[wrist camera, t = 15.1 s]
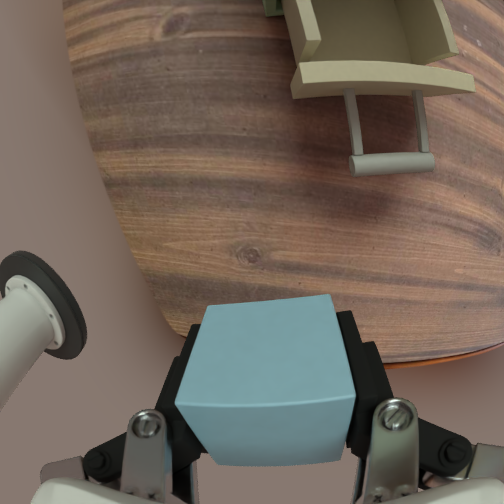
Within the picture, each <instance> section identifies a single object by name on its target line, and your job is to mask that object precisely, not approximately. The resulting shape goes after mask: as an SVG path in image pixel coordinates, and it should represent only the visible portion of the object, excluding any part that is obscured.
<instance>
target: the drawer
mask: <svg viewBox="0 0 504 504" xmlns="http://www.w3.org/2000/svg"><path fill="white" fill-rule="evenodd" d="M280 1H281V4H282V8H283V12H284V15H285V19H286V23H287V27H288V31H289V35H290V39H291V44H292V48H293V52H294V57H295V61H296V66H297V69H296V71H295V74H294V76H293V79H292V81H291V84H290V87H291V92H292V97H293V99H300V98H310V97H323V96H340V95H344V99H345V105H346V111H347V117H348V124H349V131H350V139H351V147H352V154H353V155H350V156H349V169H350V173H351V175H352V176H353V177H361V176H372V175H386V174H401V173H420V172H432V171H433V170H434V168H435V160H434V157H433V155H432V154H431V153H430V152H429V144H428V133H427V123H426V115H425V107H424V100H423V97H432V96H440V95H450V94H461V93H475V92H476V89H475V84H474V79H473V75H471V74H467V73H462V72H458V71H453V70H448V69H442V68H436V67H430V66H423V65H426V64H429V63H432V62H435V61H438V60H441V59H445V58H448V57H452V56H455V55H459V52H458V48H457V44H456V41H455V38H454V34H453V31H452V28H451V25H450V22H449V19H448V16H447V13H446V11H445V8H444V5H443V3H442V0H280ZM355 95H401V96H412V97H413V104H414V111H415V118H416V127H417V137H418V149H419V152H400V153H378V154H363V146H362V137H361V129H360V122H359V115H358V109H357V103H356V97H355Z"/></svg>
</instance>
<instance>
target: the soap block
mask: <svg viewBox="0 0 504 504" xmlns="http://www.w3.org/2000/svg"><path fill="white" fill-rule="evenodd" d="M355 397H356V393H355V388H354V384H353V380H352V375H351V371H350V367H349V363H348V358H347V354H346V350H345V346H344V342H343V339H342V335H341V331H340V327H339V324H338V320H337V316H336V313H335V309H334V305H333V302H332V298H331V296H330V294H325V295H317V296H308V297H299V298H290V299H280V300H270V301H259V302H247V303H235V304H222V305H209V306H207V309H206V312H205V315H204V318H203V320H202V323H201V326H200V329H199V332H198V335H197V338H196V340H195V343H194V346H193V349H192V352H191V355H190V358H189V361H188V364H187V367H186V369H185V372H184V375H183V378H182V381H181V384H180V387H179V390H178V393H177V396H176V399H175V405H176V407H177V408H178V410H179V411H180V413H181V415H182V416H183V418H184V419H185V421H186V422H187V424H188V425H189V427H190V428H191V429H192V431H193V432H194V434H195V435H196V437H197V438H198V439H199V441H200V442H201V444H202V445H203V446H204V448H205V449H206V450H207V452H208V453H209V454H210V456H211V457H212V458H213V460H214V461H215V462H216V463H217V464H218V465H229V466H291V465H304V464H316V463H324V462H332V461H338V460H340V459H341V455H342V452H343V449H344V445H345V441H346V437H347V433H348V429H349V425H350V421H351V416H352V412H353V407H354V402H355Z"/></svg>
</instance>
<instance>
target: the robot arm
mask: <svg viewBox="0 0 504 504" xmlns="http://www.w3.org/2000/svg"><path fill="white" fill-rule="evenodd" d="M5 295H6V296H5V297H4V298H3V299H2V300H1V301H0V411H1V410H2V408H3V407H4V405H5V404H6V402H7V401H8V399H9V398H10V396H11V395H12V393H13V392H14V390H15V389H16V388H17V386H18V385H19V383H20V382H21V381H22V379H23V378H24V376H25V375H26V374H27V372H28V371H29V370H30V368H31V367H32V366H33V364H34V363H35V362H36V360H37V359H38V358H39V356H40V355H41V354H42V352H43V351H44V350H45V349H46V348H48V349H58V348H59V347H61V345H62V344H63V343H64V341H65V329H64V325H63V322H62V319H61V317H60V315H59V313H58V311H57V309H56V308H55V306H54V304H53V303H52V302H51V300H50V299H49V297H48V296H47V295H46V294H45V293H44V291H43V290H42V289H41V288H40V287H39V286H38V285H37V284H35V283H34V282H33V281H31V280H30V279H28V278H26V277H24V276H21V275H15V276H13V277H12V278H10V279H9V280H8V281H7V283H6V287H5ZM336 316H337V320H338V324H339V327H340V331H341V335H342V339H343V342H344V346H345V350H346V354H347V358H348V363H349V367H350V371H351V375H352V380H353V384H354V388H355V393H356V397H355V402H354V407H353V412H352V416H351V421H350V425H349V429H348V433H347V437H346V445H347V448H351V453H352V454H354V455H356V456H357V457H358V464H357V469H356V476H355V482H354V488H353V493H352V498H351V503H350V504H504V447H502V446H495V445H488V444H482V443H477V445H473V444H471V443H470V442H469V440H468V439H466V438H465V437H463V436H461V435H458V434H456V433H453V432H451V431H448V430H446V429H443V428H441V427H439V426H436V425H434V424H431V423H429V422H427V421H425V420H422V419H420V418H418V413H417V410H416V408H415V406H414V405H413V404H412V403H411V402H410V401H409V400H406V399H403V398H397V397H396V398H394V396H393V393H392V390H391V387H390V384H389V381H388V378H387V375H386V372H385V369H384V366H383V363H382V360H381V358H380V355H379V352H378V349H377V347H376V344H375V342H374V341H371V342H365V343H362V341H361V338H360V334H359V331H358V329H357V326H356V323H355V320H354V317H353V314H352V311H351V310H349V311H342V312H337V313H336ZM200 326H201V324H193V325H192V326H191V328H190V331H189V333H188V336H187V338H186V341H185V343H184V346H183V349H182V351H181V354H180V356H176V357H175V358H174V360H173V362H172V365H171V367H170V370H169V372H168V375H167V377H166V380H165V383H164V385H163V388H162V391H161V393H160V396H159V398H158V401H157V403H156V406H155V409H145V410H142V411H139V412H137V413H136V414H135V415H133V417H132V418H131V419H130V421H129V424H128V429H127V432H125V433H124V434H121V435H119V436H117V437H115V438H113V439H111V440H110V441H107V442H105V443H103V444H101V445H99V446H97V447H95V448H93V449H91V450H90V451H88V452H87V454H86V455H85V457H84V458H83V457H81V456H78V457H74V458H70V459H65V460H61V461H57V462H52V463H48V464H46V465H44V466H43V468H42V470H41V472H40V478H41V486H40V487H39V488H38V490H37V492H36V493H35V495H34V497H33V499H32V501H31V503H30V504H199V495H198V481H197V464H196V460H197V459H199V458H200V455H201V453H208V452H207V450H206V449H205V448H204V446H203V445H202V444H201V442H200V441H199V439H198V438H197V437H196V435H195V434H194V432H193V431H192V429H191V428H190V427H189V425H188V424H187V422H186V421H185V419H184V418H183V416H182V415H181V413H180V411H179V410H178V408H177V407H176V405H175V399H176V396H177V393H178V390H179V387H180V384H181V381H182V378H183V375H184V372H185V369H186V367H187V364H188V361H189V358H190V355H191V352H192V349H193V346H194V343H195V340H196V338H197V335H198V332H199V329H200ZM418 488H421V489H423V490H424V491H421V492H418Z"/></svg>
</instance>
